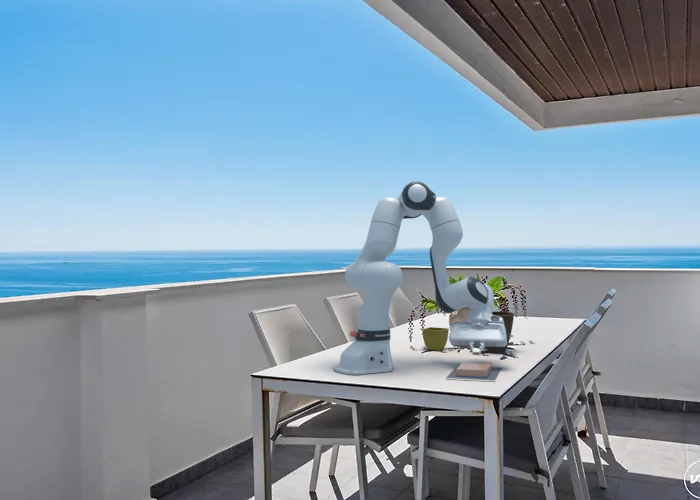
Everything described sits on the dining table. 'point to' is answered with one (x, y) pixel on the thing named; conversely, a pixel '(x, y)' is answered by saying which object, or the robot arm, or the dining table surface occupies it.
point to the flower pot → (435, 338)
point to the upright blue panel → (474, 369)
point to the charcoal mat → (491, 376)
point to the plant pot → (508, 325)
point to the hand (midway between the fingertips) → (476, 354)
